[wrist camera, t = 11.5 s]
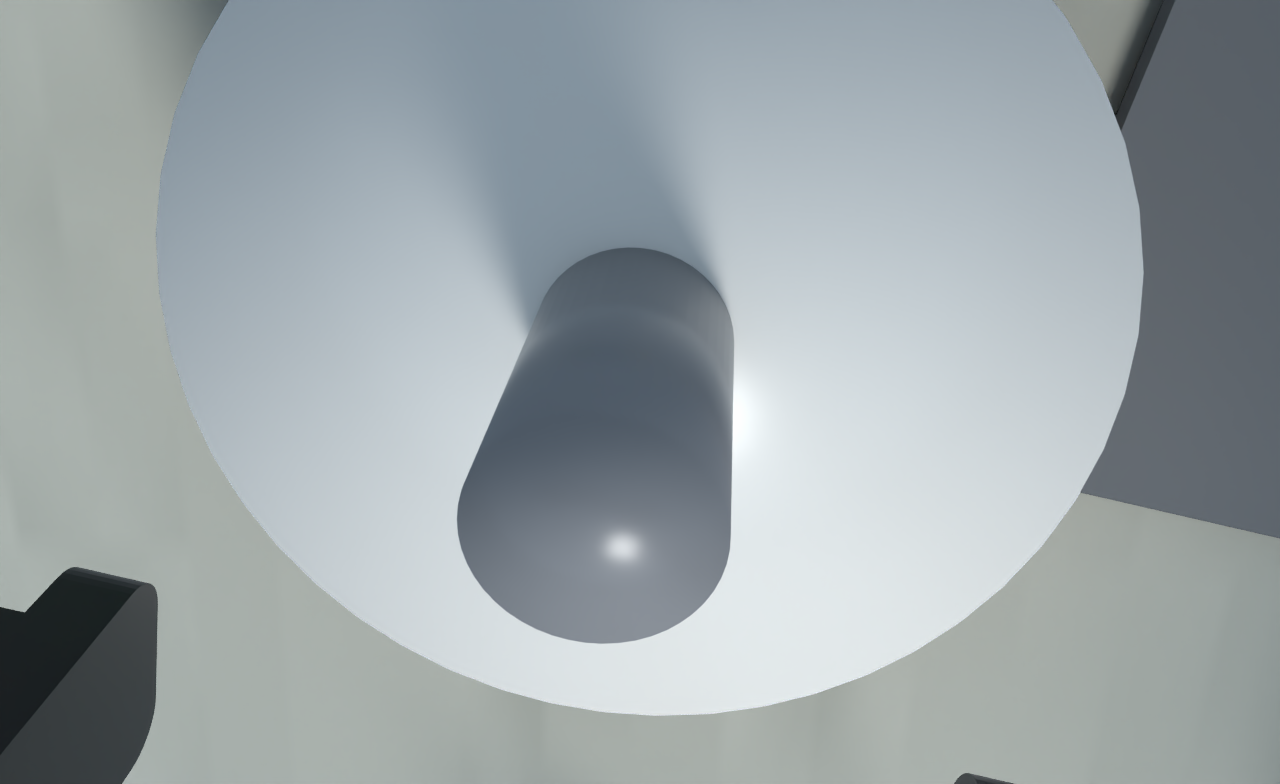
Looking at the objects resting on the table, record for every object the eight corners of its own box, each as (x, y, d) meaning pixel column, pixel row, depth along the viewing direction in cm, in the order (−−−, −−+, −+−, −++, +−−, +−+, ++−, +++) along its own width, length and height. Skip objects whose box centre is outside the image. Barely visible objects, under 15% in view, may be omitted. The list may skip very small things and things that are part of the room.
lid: (1313, -60, 17) (1641, -1, 11) (938, 762, 24) (1004, 1070, 18) (187, -328, 16) (-144, -426, 10) (169, 591, 24) (-27, 849, 18)
